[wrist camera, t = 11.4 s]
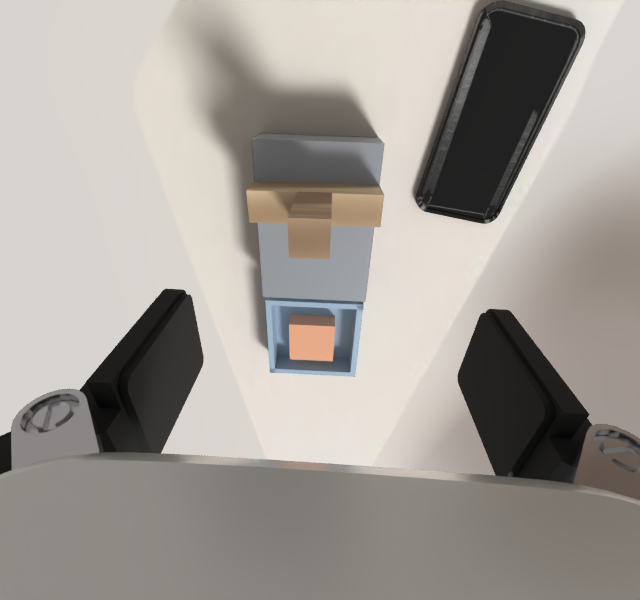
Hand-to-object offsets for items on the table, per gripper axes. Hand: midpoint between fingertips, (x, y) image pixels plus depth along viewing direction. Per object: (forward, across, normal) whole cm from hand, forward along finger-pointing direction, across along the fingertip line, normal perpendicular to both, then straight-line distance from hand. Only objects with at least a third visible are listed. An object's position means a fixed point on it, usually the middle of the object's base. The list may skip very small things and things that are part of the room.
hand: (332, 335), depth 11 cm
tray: (+22, +1, +17) cm, 28 cm away
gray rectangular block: (+23, +2, +4) cm, 23 cm away
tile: (+20, +1, +18) cm, 27 cm away
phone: (+24, -12, -4) cm, 27 cm away
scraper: (+19, +2, +1) cm, 19 cm away
